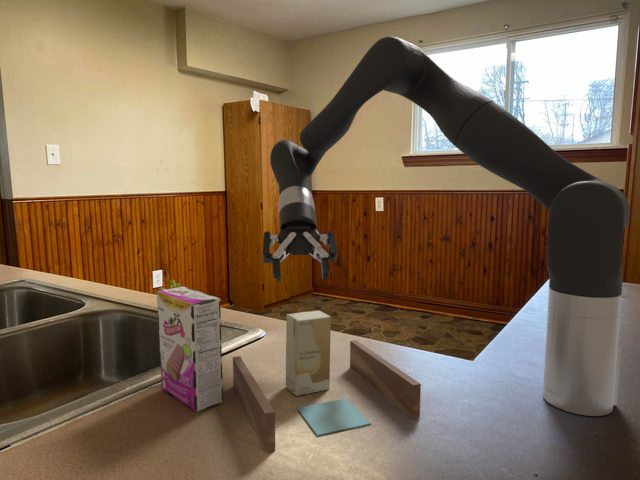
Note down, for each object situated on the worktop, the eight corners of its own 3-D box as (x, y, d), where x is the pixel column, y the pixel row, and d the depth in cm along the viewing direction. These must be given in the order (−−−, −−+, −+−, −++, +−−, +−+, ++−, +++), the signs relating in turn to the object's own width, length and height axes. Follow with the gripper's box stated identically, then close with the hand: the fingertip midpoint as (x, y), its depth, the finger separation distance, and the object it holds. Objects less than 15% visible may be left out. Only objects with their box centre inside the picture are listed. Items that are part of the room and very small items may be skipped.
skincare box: (295, 397, 69) (295, 320, 68) (284, 386, 73) (284, 313, 72) (331, 389, 72) (332, 315, 71) (319, 379, 76) (319, 309, 75)
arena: (355, 366, 81) (356, 340, 81) (419, 417, 63) (420, 383, 63) (233, 386, 73) (232, 357, 73) (265, 452, 55) (265, 413, 54)
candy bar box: (159, 390, 72) (155, 290, 70) (187, 381, 75) (184, 285, 73) (195, 415, 64) (191, 302, 62) (224, 403, 67) (222, 296, 66)
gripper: (262, 200, 89) (262, 267, 79) (333, 200, 90) (342, 265, 80) (262, 225, 94) (263, 290, 84) (329, 224, 96) (337, 288, 86)
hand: (301, 278), depth 82 cm, fingers open, 8 cm apart
